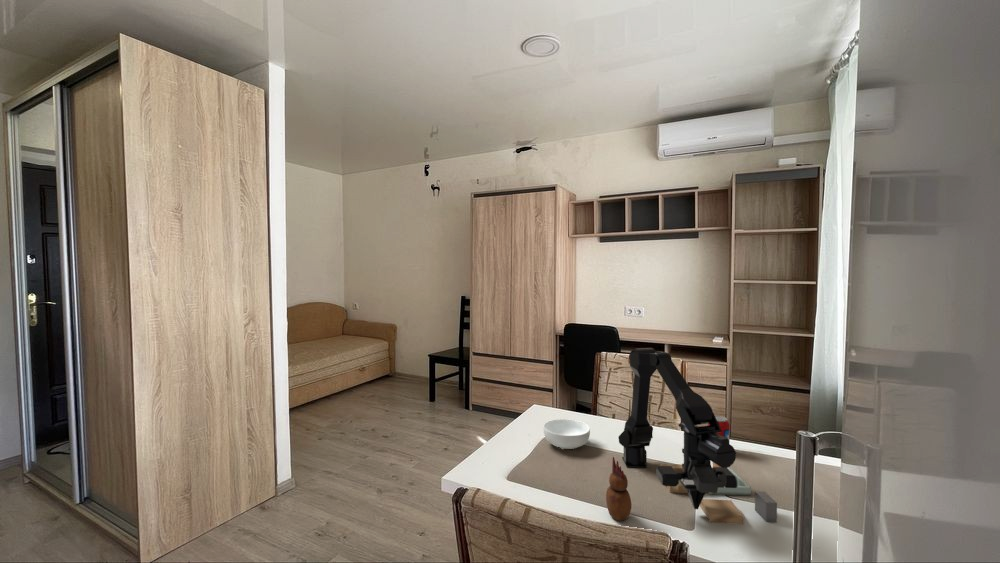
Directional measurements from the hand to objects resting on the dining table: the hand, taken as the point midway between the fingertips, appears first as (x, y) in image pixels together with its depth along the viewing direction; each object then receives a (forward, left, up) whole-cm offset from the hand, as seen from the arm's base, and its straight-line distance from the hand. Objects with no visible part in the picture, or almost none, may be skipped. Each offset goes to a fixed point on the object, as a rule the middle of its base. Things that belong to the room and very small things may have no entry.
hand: (695, 508), depth 105 cm
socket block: (+1, +15, -2) cm, 15 cm away
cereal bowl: (-30, +41, -2) cm, 50 cm away
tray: (+13, +16, -2) cm, 21 cm away
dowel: (+13, +16, -1) cm, 21 cm away
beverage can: (+23, +38, -2) cm, 44 cm away
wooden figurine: (-21, -2, -2) cm, 21 cm away
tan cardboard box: (+6, 0, -2) cm, 7 cm away
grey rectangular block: (+18, 0, -2) cm, 18 cm away
